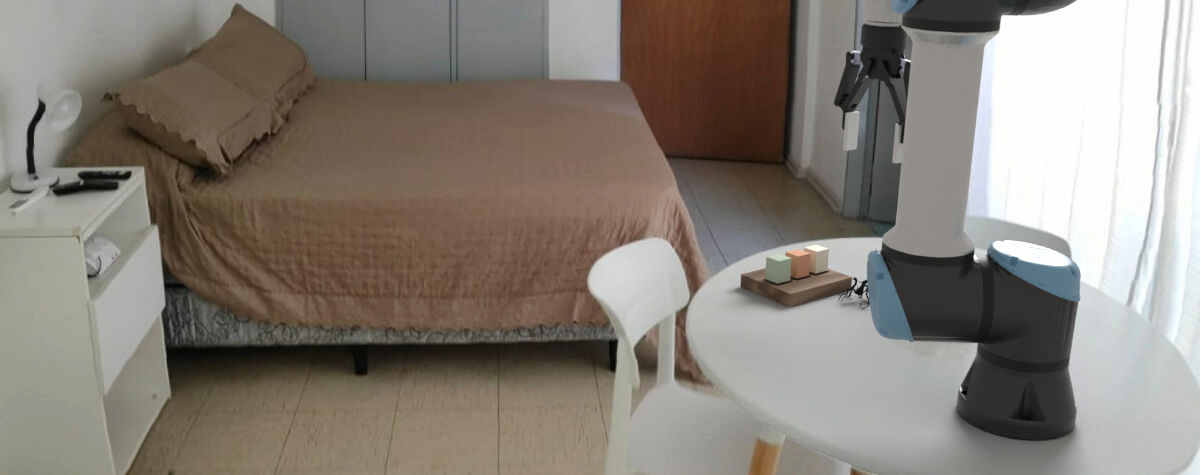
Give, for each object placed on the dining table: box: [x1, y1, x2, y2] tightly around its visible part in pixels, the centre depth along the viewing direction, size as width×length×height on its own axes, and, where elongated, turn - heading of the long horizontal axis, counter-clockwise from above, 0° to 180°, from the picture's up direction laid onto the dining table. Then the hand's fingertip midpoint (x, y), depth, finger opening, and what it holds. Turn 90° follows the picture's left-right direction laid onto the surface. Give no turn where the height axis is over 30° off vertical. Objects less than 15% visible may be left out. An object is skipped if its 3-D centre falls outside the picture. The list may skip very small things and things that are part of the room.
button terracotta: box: [784, 248, 811, 279], centre depth 205 cm, size 3×3×4 cm
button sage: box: [765, 253, 792, 284], centre depth 203 cm, size 3×3×4 cm
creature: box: [837, 276, 870, 310], centre depth 200 cm, size 8×5×8 cm
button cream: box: [803, 244, 830, 274], centre depth 208 cm, size 3×3×4 cm
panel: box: [740, 267, 853, 308], centre depth 206 cm, size 12×15×2 cm
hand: (874, 155), depth 200 cm, fingers open, 10 cm apart
